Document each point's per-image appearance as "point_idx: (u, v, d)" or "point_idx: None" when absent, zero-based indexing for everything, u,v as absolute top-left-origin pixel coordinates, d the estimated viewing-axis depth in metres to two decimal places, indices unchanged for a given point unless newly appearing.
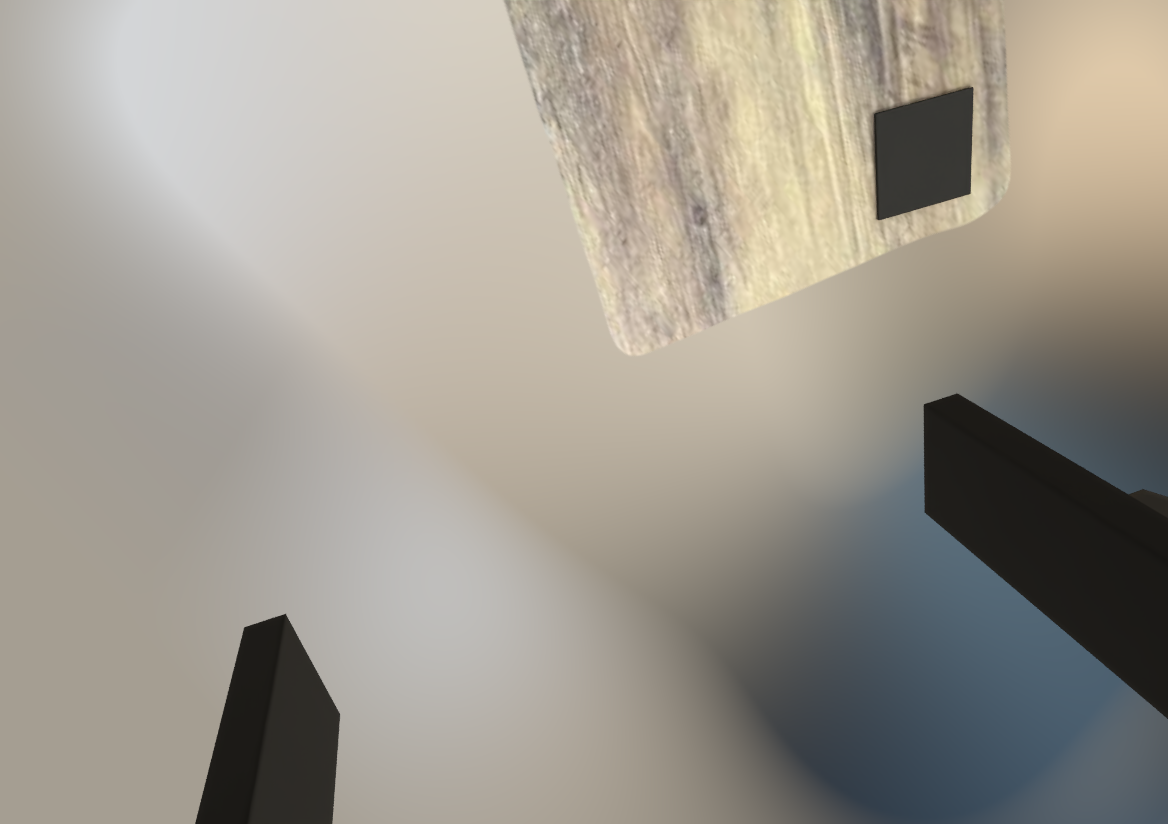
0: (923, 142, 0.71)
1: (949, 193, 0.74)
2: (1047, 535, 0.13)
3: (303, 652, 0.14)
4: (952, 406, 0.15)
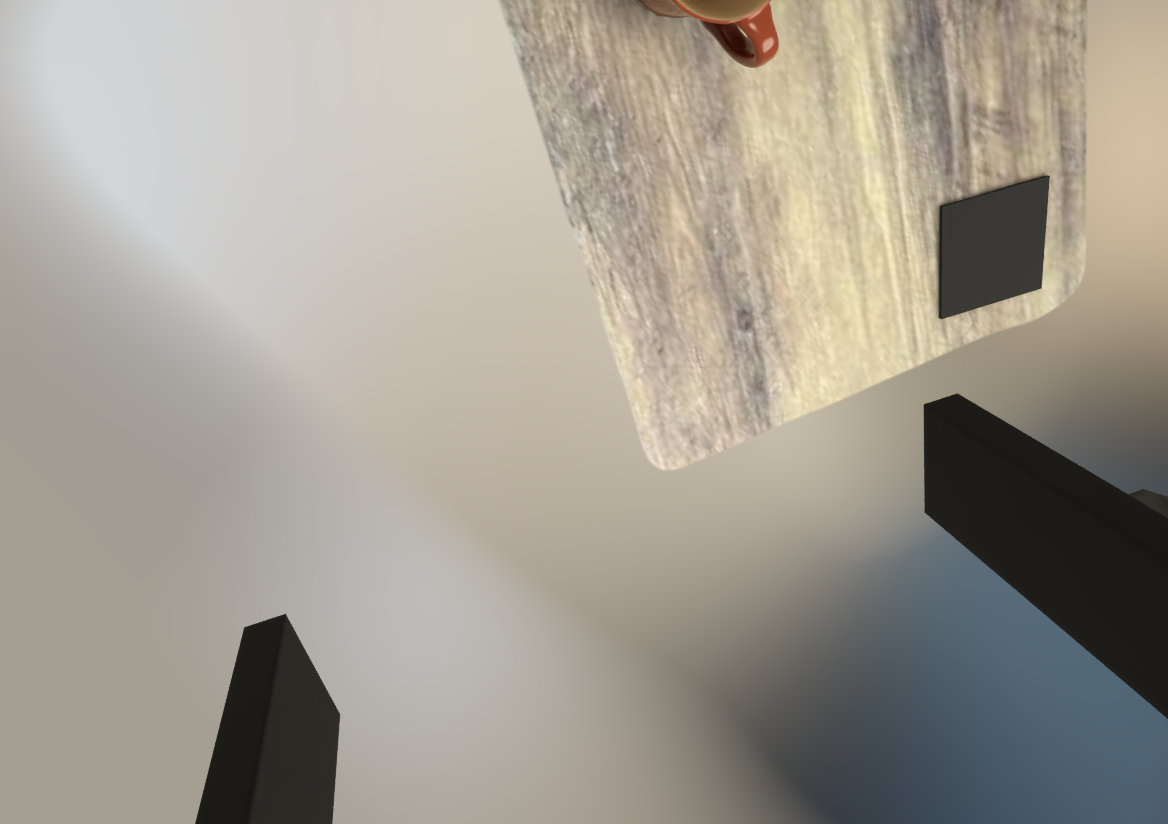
0: (992, 235, 0.64)
1: (1018, 288, 0.67)
2: (1047, 535, 0.13)
3: (303, 652, 0.14)
4: (952, 406, 0.15)
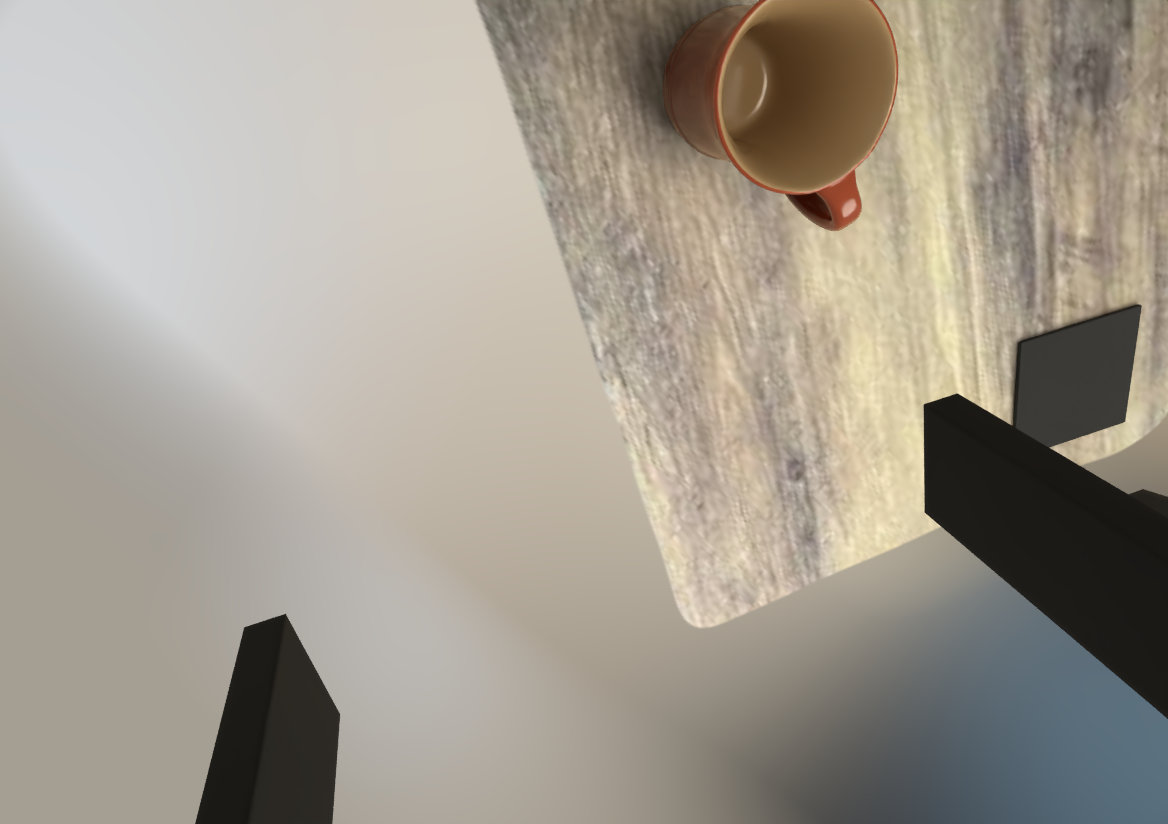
0: (1075, 370, 0.56)
1: (1100, 423, 0.59)
2: (1047, 535, 0.13)
3: (302, 652, 0.14)
4: (952, 406, 0.15)
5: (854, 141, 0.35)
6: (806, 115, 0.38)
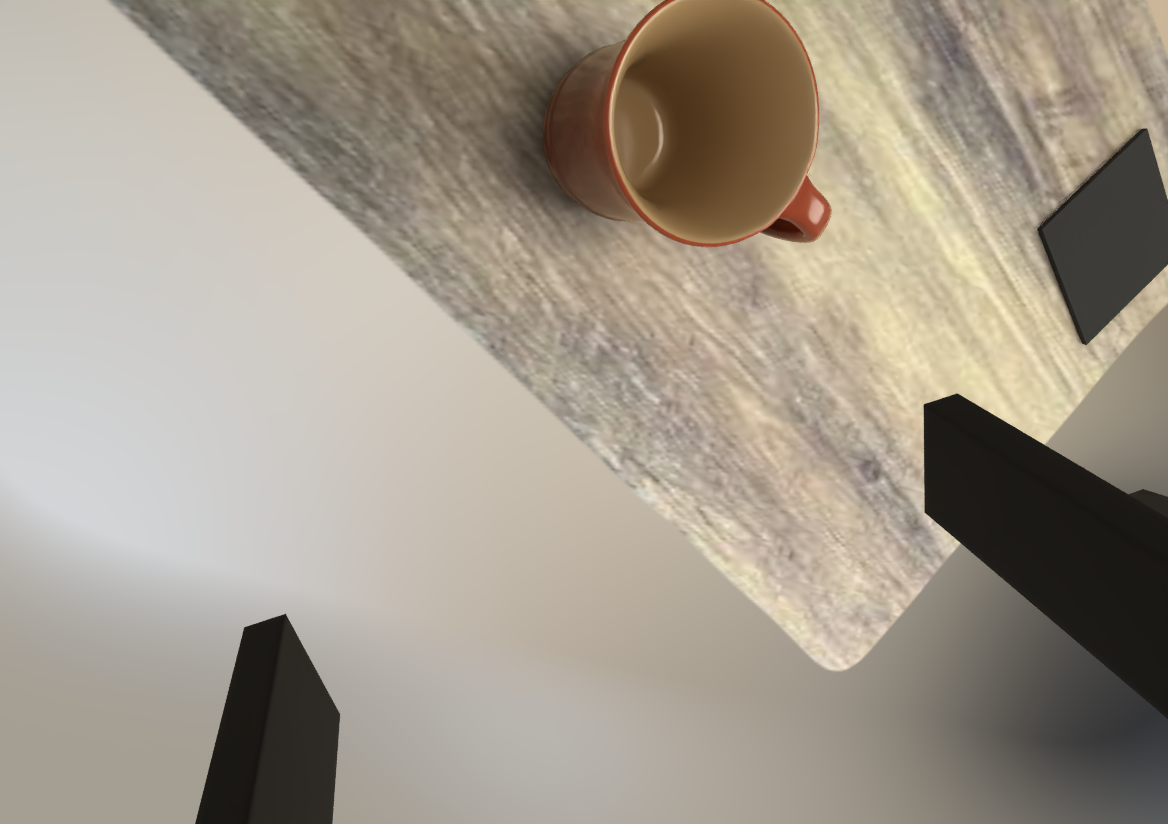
0: (1109, 226, 0.50)
1: (1158, 264, 0.52)
2: (1047, 535, 0.13)
3: (303, 652, 0.14)
4: (952, 406, 0.15)
5: (791, 144, 0.29)
6: (720, 134, 0.32)
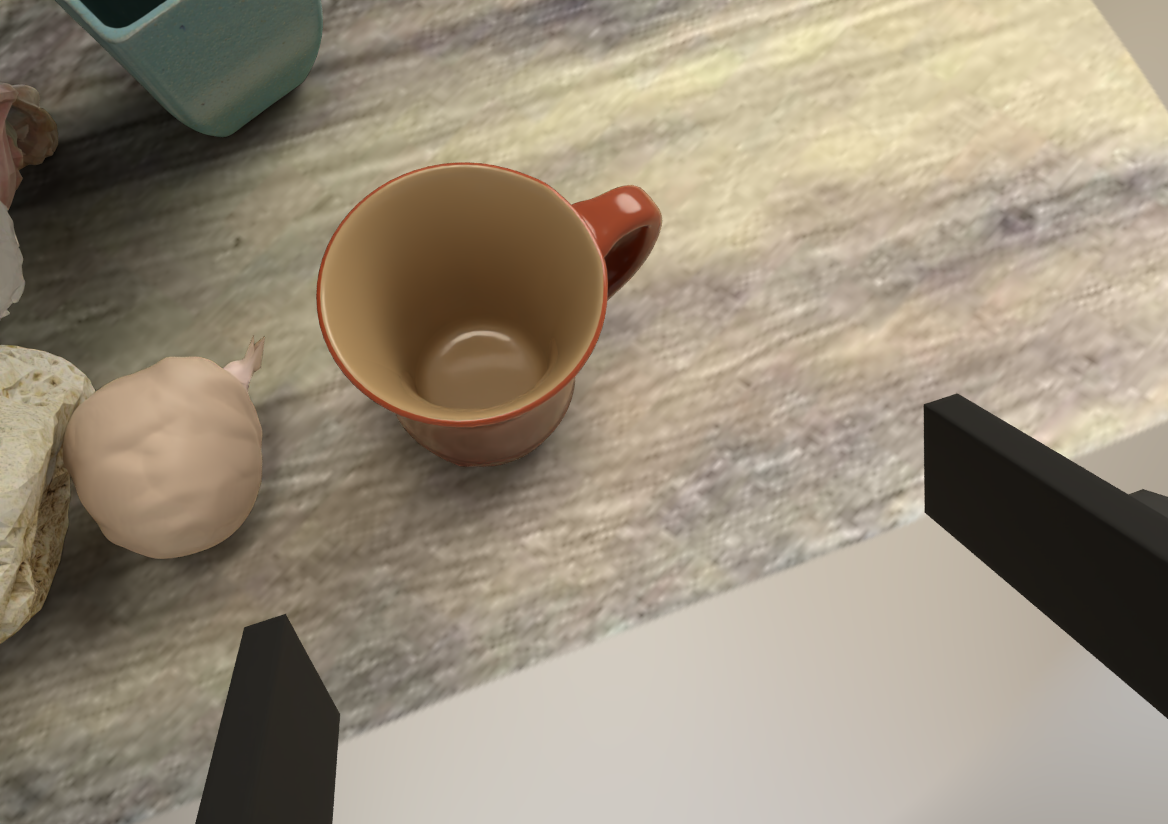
0: None
1: None
2: (1047, 535, 0.13)
3: (302, 652, 0.14)
4: (952, 406, 0.15)
5: (534, 210, 0.25)
6: (510, 278, 0.28)
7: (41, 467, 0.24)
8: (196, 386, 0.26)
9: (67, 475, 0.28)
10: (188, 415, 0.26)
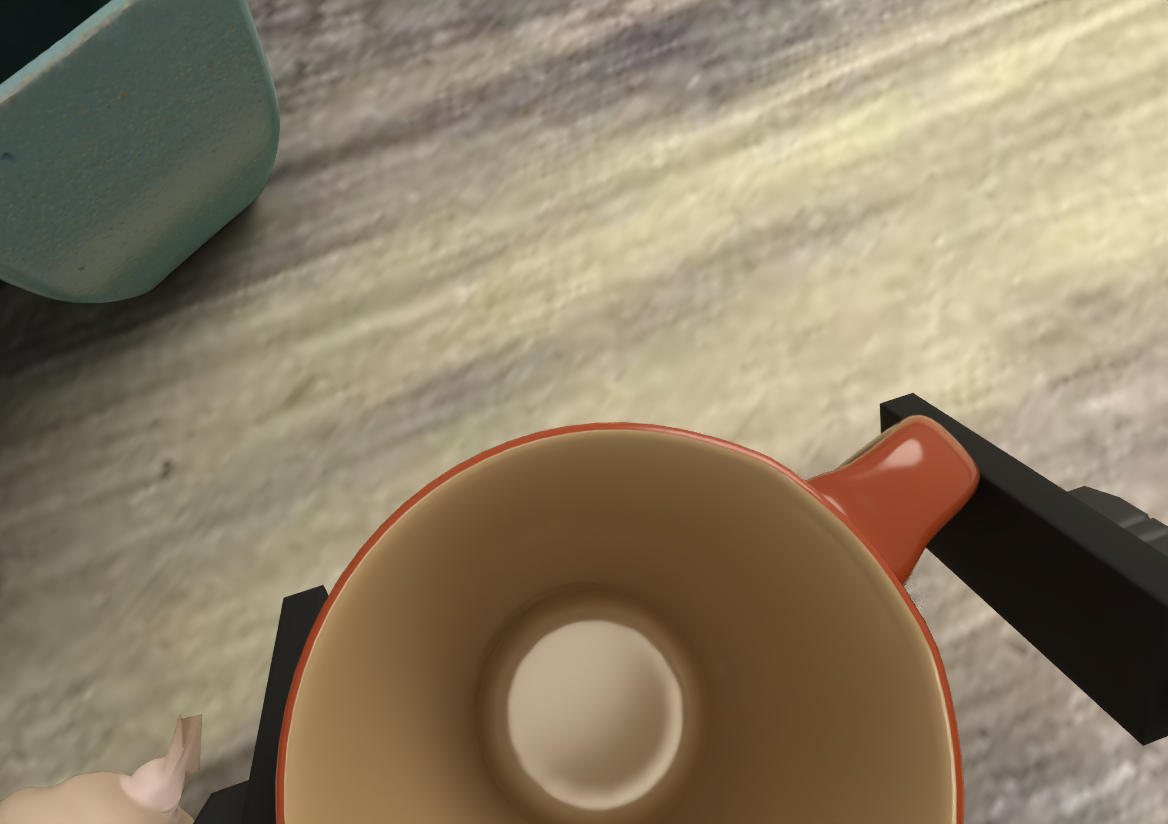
0: None
1: None
2: (991, 530, 0.13)
3: None
4: (906, 405, 0.15)
5: (739, 506, 0.11)
6: (654, 575, 0.15)
7: None
8: None
9: None
10: None
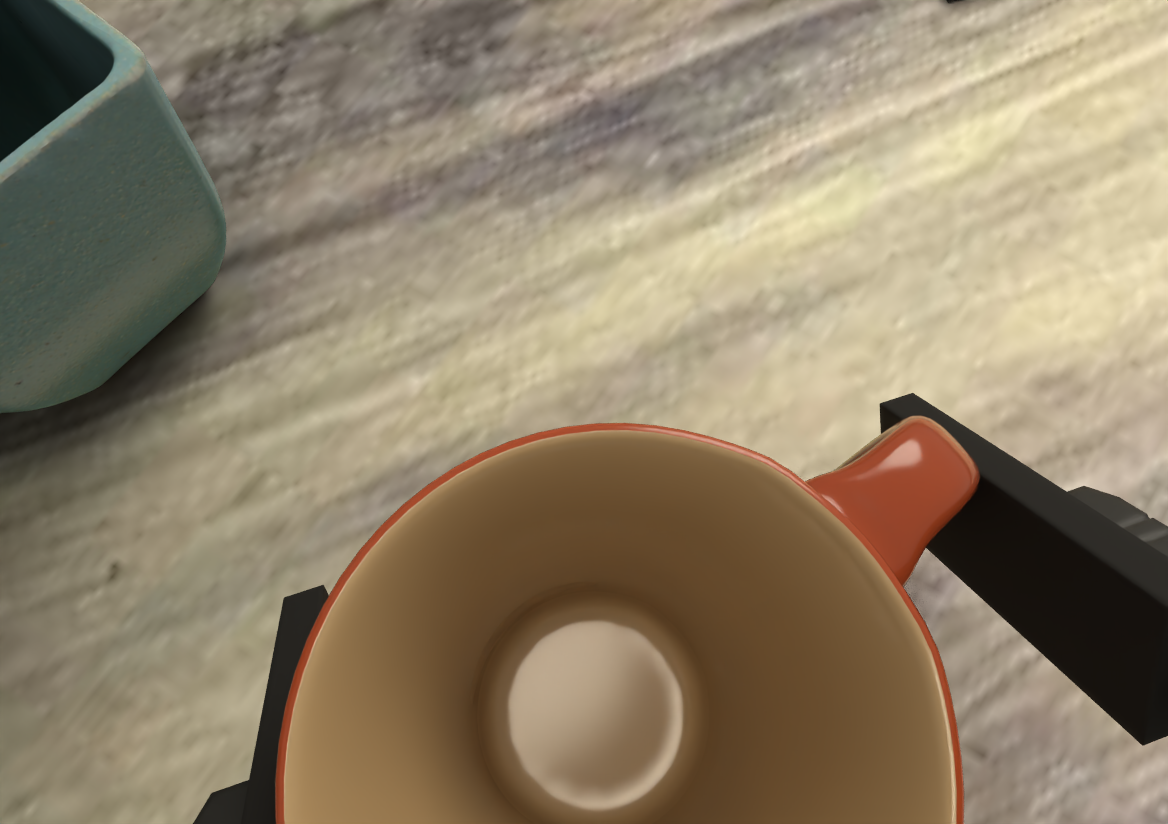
0: None
1: None
2: (991, 530, 0.13)
3: None
4: (906, 405, 0.15)
5: (738, 506, 0.11)
6: (654, 576, 0.15)
7: None
8: None
9: None
10: None
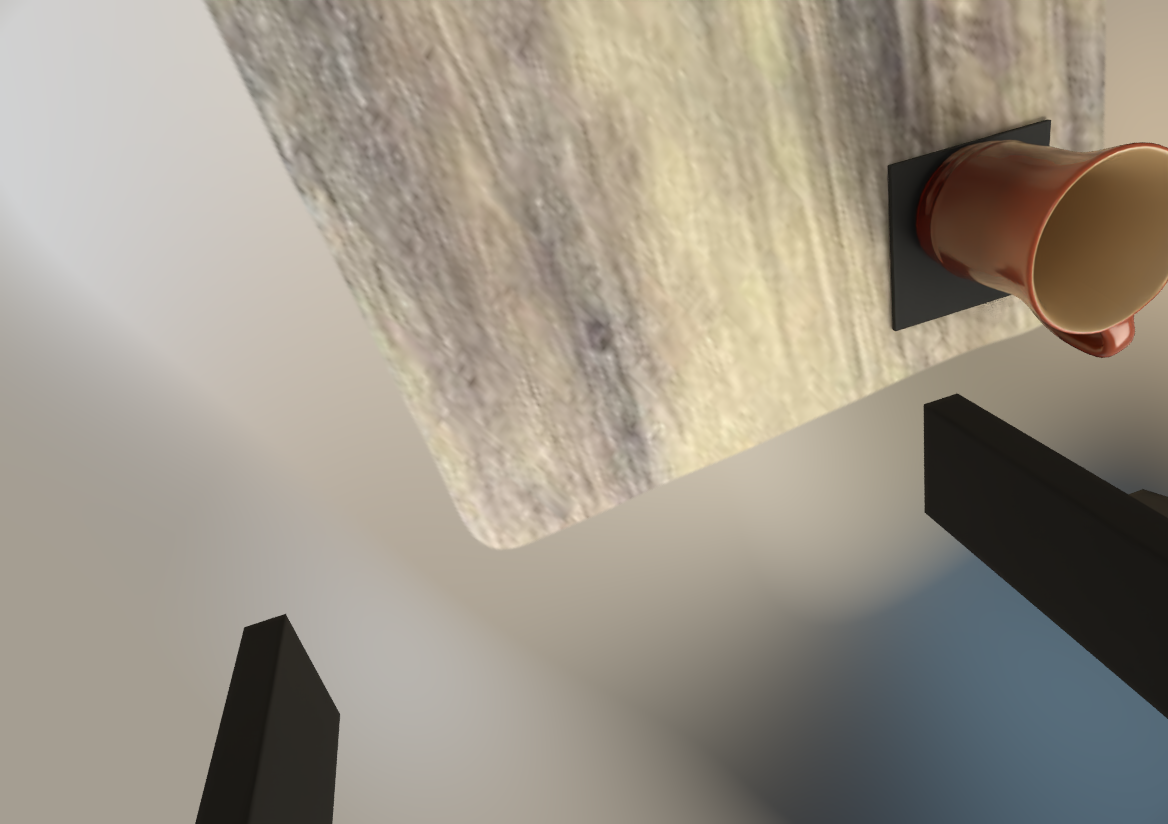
0: None
1: None
2: (1047, 535, 0.13)
3: (302, 652, 0.14)
4: (952, 406, 0.15)
5: (1139, 281, 0.37)
6: (1072, 246, 0.40)
7: None
8: None
9: None
10: None
